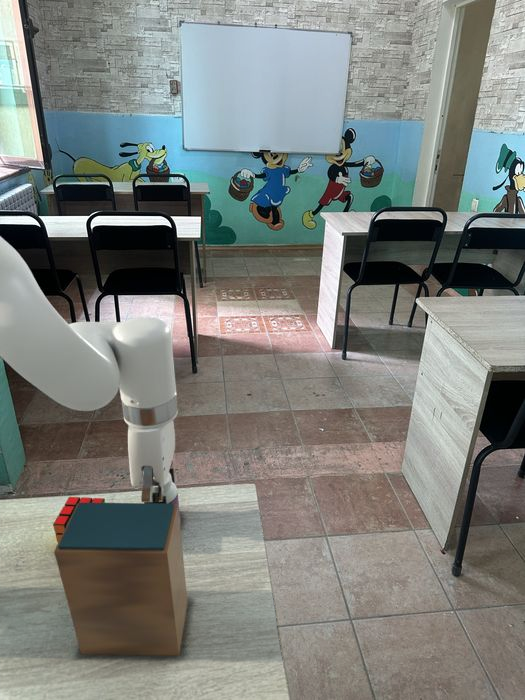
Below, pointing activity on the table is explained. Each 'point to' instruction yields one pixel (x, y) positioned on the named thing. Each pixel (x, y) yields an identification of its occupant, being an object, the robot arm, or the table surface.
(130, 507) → the cloth
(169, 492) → the pill bottle
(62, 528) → the puzzle toy
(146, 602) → the stand
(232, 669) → the table surface
